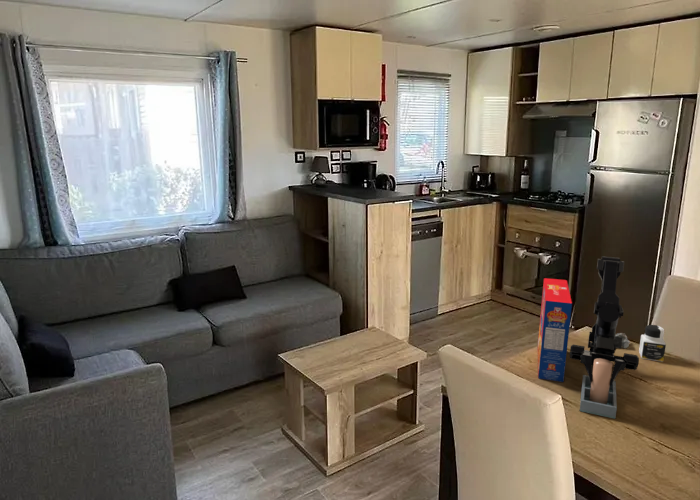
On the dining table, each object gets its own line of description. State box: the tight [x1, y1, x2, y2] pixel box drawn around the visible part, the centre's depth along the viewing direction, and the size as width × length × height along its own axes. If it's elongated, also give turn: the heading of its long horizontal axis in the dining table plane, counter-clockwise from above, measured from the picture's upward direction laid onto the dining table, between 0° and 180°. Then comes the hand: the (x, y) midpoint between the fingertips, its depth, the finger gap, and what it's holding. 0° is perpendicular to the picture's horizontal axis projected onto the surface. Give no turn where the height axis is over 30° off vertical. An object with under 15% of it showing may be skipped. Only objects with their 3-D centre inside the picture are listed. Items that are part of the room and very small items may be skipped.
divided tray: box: [579, 374, 618, 420], centre depth 159 cm, size 18×10×4 cm, turn 154°
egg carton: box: [615, 332, 631, 349], centre depth 201 cm, size 11×8×4 cm
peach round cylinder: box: [589, 358, 614, 405], centre depth 153 cm, size 5×5×13 cm
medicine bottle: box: [638, 324, 667, 363], centre depth 189 cm, size 7×7×12 cm
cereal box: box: [537, 277, 573, 383], centre depth 182 cm, size 28×8×28 cm, turn 161°
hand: (600, 383), depth 152 cm, fingers closed on peach round cylinder, 5 cm apart
